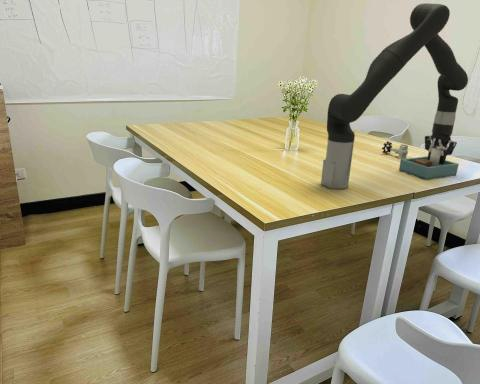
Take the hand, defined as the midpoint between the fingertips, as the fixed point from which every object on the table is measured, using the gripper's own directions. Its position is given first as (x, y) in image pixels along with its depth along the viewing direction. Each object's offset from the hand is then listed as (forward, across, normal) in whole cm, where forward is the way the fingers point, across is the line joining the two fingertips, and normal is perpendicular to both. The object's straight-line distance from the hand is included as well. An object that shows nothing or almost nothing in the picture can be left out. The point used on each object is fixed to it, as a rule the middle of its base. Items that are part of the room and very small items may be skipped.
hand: (435, 162), depth 165 cm
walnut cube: (+4, 0, -8) cm, 9 cm away
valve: (+5, -26, +5) cm, 27 cm away
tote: (+4, 0, -4) cm, 6 cm away
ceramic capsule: (+1, 0, 0) cm, 1 cm away
